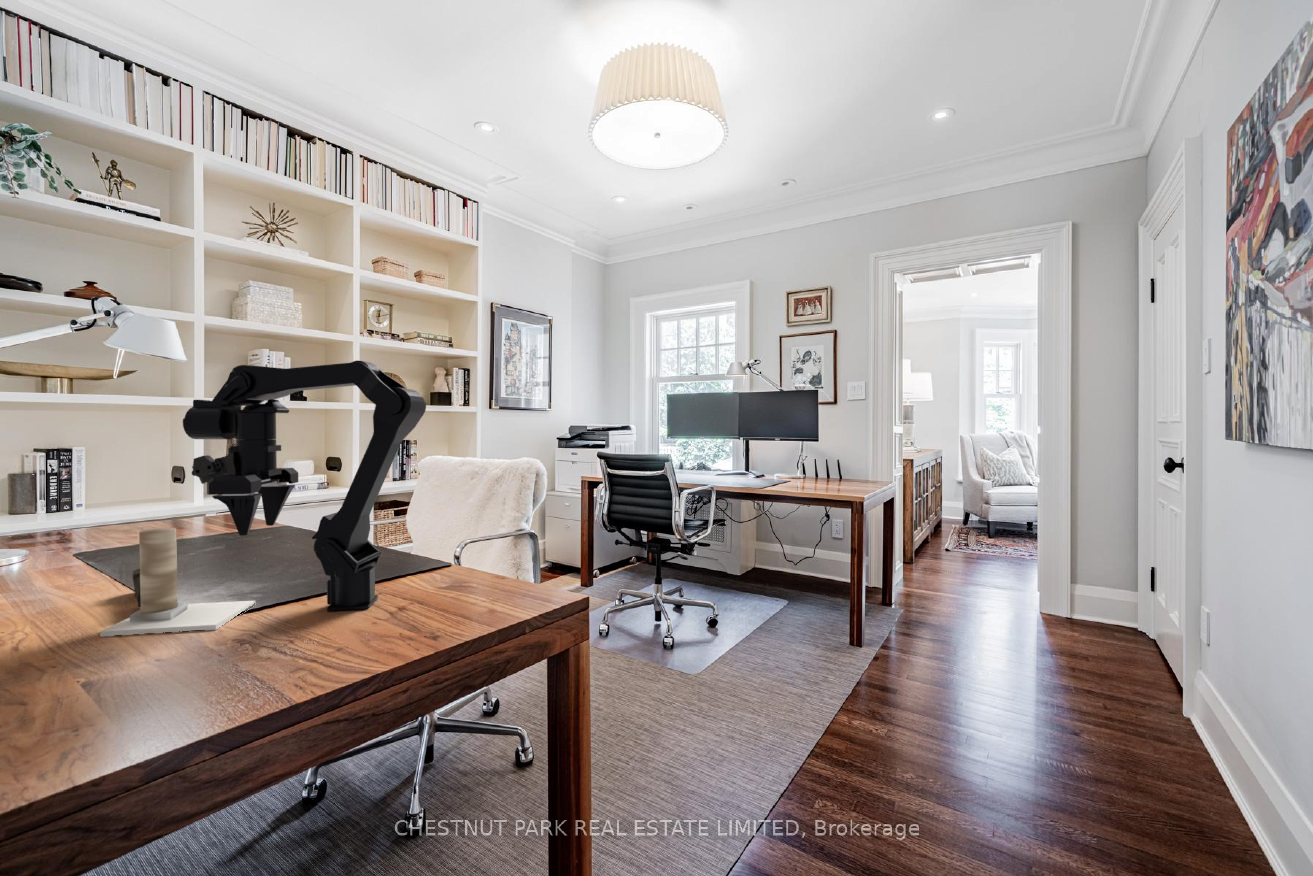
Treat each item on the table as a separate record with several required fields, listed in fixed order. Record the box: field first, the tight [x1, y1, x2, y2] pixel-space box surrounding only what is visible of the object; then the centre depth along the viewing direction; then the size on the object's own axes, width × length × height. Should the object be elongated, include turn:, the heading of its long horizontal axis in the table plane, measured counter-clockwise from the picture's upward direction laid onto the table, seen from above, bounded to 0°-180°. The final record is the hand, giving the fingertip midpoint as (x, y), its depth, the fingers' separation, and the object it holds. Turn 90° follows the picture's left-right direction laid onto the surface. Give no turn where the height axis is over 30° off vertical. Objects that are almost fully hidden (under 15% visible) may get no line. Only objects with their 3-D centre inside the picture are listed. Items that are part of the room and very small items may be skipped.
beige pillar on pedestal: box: [129, 527, 188, 623], centre depth 90 cm, size 5×5×14 cm
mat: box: [99, 600, 256, 638], centre depth 91 cm, size 15×12×1 cm
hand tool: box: [132, 568, 141, 609], centre depth 99 cm, size 19×4×5 cm, turn 45°
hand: (257, 530), depth 98 cm, fingers open, 9 cm apart
